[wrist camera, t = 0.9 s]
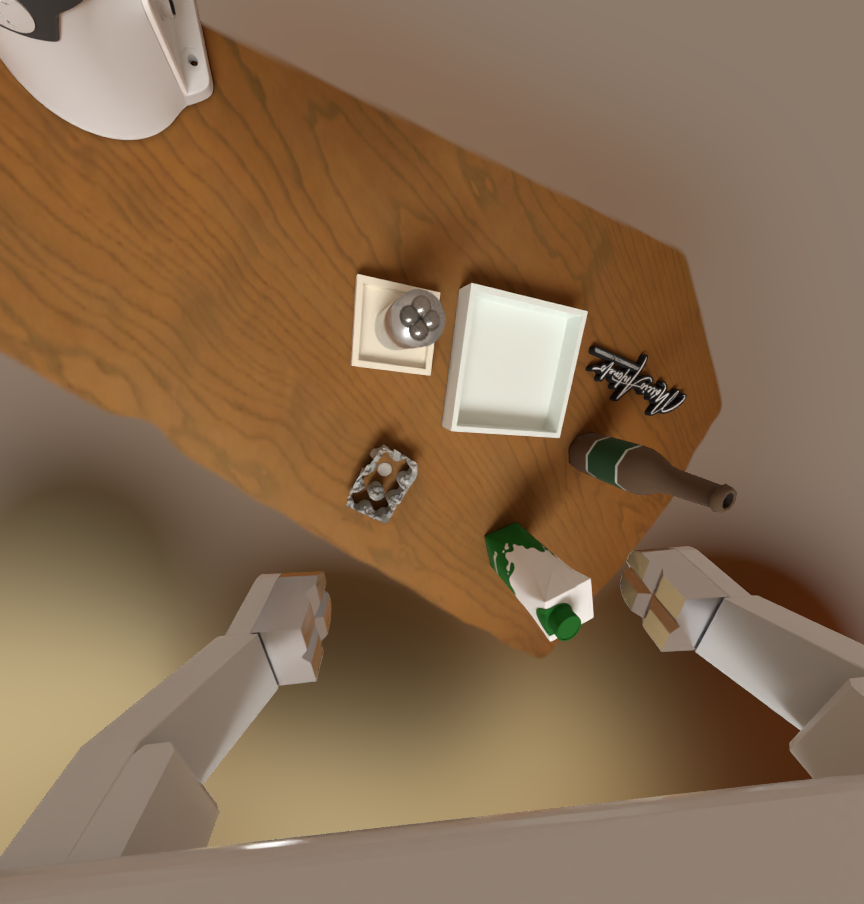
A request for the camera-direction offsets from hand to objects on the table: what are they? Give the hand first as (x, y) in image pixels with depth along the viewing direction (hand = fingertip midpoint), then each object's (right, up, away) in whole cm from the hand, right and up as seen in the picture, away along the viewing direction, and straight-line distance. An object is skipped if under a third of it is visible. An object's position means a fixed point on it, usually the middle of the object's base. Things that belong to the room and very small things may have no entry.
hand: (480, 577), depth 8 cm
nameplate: (+38, +17, +53) cm, 67 cm away
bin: (+11, +17, +43) cm, 47 cm away
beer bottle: (+28, +4, +53) cm, 60 cm away
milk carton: (+12, -14, +52) cm, 56 cm away
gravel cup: (-6, +20, +35) cm, 41 cm away
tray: (-7, +20, +35) cm, 41 cm away
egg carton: (-9, -1, +41) cm, 42 cm away
